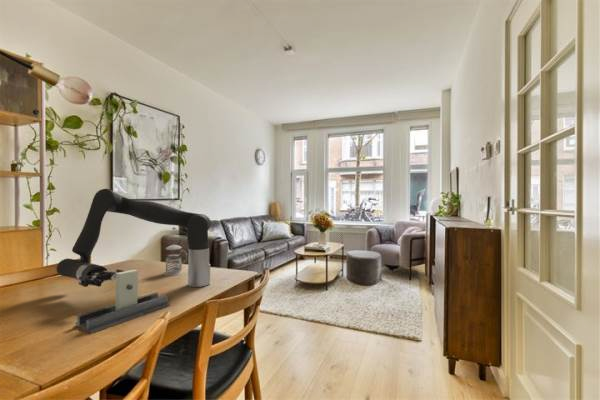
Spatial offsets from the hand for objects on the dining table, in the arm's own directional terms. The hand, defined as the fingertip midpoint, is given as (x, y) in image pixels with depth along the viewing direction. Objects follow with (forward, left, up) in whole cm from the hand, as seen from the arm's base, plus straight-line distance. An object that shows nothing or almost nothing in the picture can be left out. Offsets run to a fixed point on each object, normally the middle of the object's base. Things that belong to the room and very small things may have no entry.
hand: (113, 280), depth 102 cm
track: (-4, +8, -10) cm, 14 cm away
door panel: (-4, +8, -9) cm, 13 cm away
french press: (-29, -42, -11) cm, 52 cm away
